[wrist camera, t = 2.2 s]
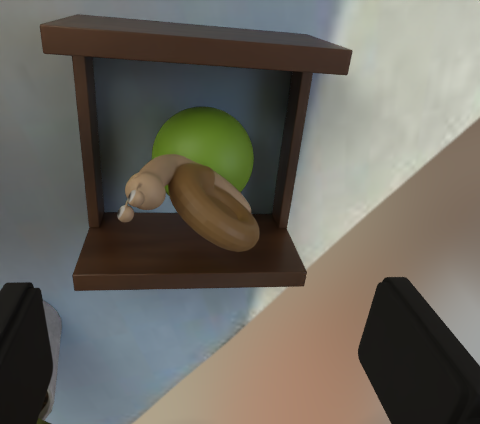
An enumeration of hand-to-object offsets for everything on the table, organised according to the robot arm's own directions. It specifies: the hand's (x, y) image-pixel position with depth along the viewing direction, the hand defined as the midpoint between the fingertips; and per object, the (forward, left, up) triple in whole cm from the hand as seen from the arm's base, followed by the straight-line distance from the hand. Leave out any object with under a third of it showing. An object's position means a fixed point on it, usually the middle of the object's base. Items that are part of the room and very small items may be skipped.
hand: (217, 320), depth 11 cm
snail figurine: (0, 0, -15) cm, 15 cm away
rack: (0, 0, -15) cm, 15 cm away
